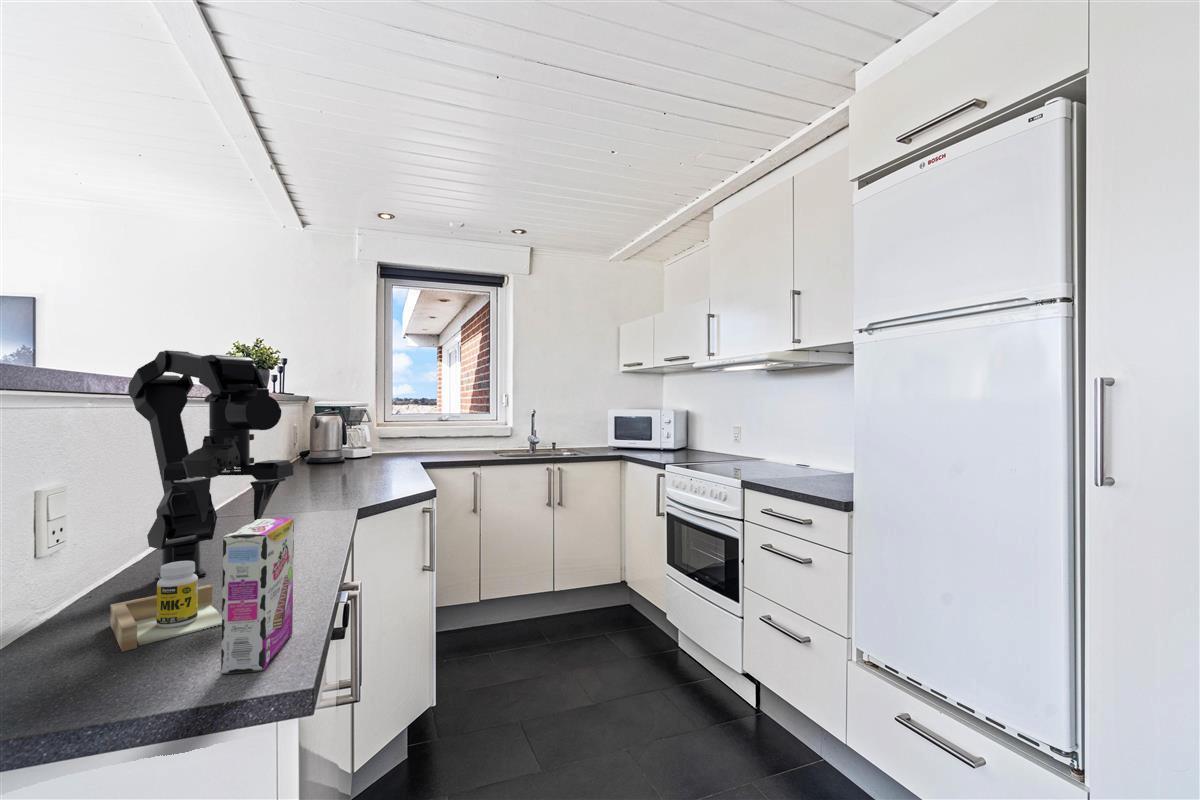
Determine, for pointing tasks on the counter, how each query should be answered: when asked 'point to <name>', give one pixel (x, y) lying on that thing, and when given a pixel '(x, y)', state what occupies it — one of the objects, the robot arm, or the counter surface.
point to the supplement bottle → (177, 594)
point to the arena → (140, 616)
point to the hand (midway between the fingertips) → (230, 520)
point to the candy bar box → (256, 594)
